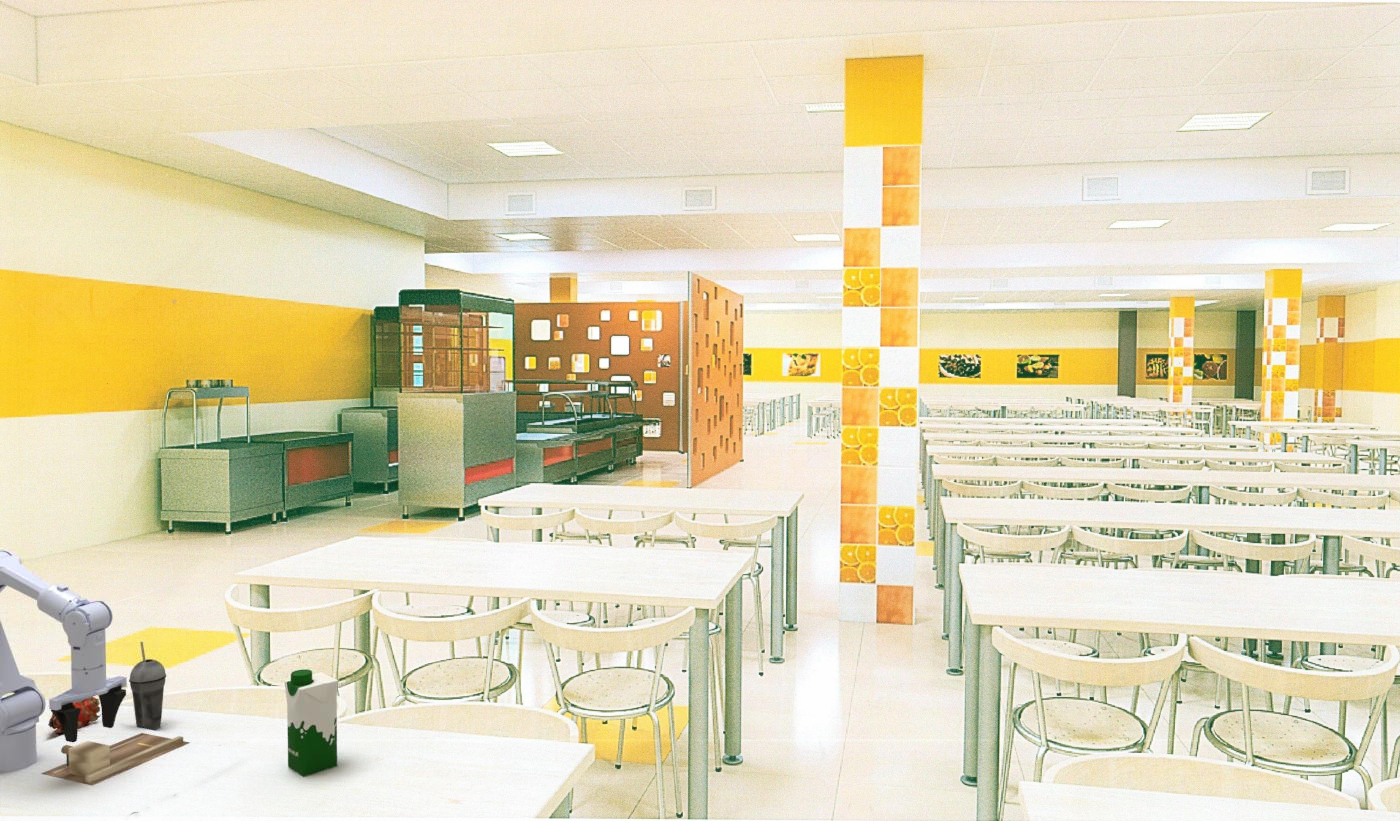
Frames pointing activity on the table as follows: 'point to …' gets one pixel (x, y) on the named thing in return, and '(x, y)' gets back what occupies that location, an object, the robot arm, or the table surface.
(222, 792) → the table surface
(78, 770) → the block
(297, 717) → the milk carton
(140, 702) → the beverage cup
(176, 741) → the walnut board
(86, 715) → the dragon fruit
